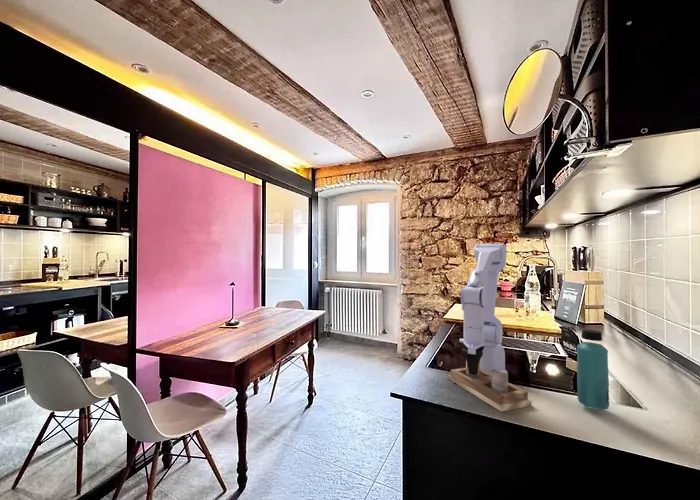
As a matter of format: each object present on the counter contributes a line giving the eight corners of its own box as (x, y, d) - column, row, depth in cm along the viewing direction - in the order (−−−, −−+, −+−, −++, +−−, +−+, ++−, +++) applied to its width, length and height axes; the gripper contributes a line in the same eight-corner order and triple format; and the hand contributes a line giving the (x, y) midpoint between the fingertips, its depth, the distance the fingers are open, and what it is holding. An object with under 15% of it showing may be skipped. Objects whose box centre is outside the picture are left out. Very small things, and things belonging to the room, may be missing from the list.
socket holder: (474, 375, 99) (474, 353, 99) (531, 405, 79) (531, 377, 80) (448, 379, 96) (448, 356, 96) (501, 411, 76) (501, 382, 76)
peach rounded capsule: (474, 373, 95) (473, 351, 95) (483, 378, 91) (483, 354, 91) (463, 375, 94) (463, 352, 94) (472, 380, 90) (472, 356, 90)
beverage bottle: (612, 419, 73) (611, 335, 73) (577, 411, 76) (577, 331, 77) (607, 407, 78) (606, 329, 79) (575, 401, 82) (574, 326, 82)
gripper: (462, 320, 101) (462, 361, 101) (456, 330, 88) (456, 377, 88) (485, 322, 98) (485, 365, 98) (483, 332, 85) (483, 382, 85)
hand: (473, 371), depth 92 cm, fingers closed on peach rounded capsule, 4 cm apart
